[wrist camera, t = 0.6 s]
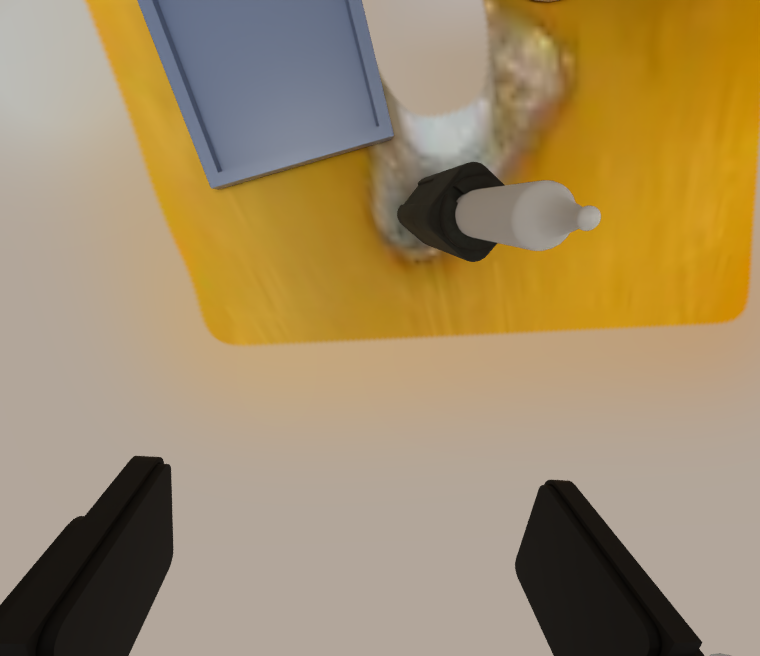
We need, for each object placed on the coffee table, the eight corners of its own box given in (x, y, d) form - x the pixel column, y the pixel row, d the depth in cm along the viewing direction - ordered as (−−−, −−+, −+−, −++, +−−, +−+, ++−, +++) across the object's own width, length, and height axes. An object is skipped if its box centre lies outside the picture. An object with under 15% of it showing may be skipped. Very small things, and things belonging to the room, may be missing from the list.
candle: (426, 171, 36) (602, 100, 12) (466, 207, 37) (693, 207, 14) (392, 216, 37) (493, 230, 13) (431, 249, 38) (588, 318, 14)
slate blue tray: (337, -82, 30) (337, -104, 28) (390, 139, 35) (393, 135, 33) (135, -26, 30) (120, -44, 27) (218, 189, 34) (211, 188, 32)
